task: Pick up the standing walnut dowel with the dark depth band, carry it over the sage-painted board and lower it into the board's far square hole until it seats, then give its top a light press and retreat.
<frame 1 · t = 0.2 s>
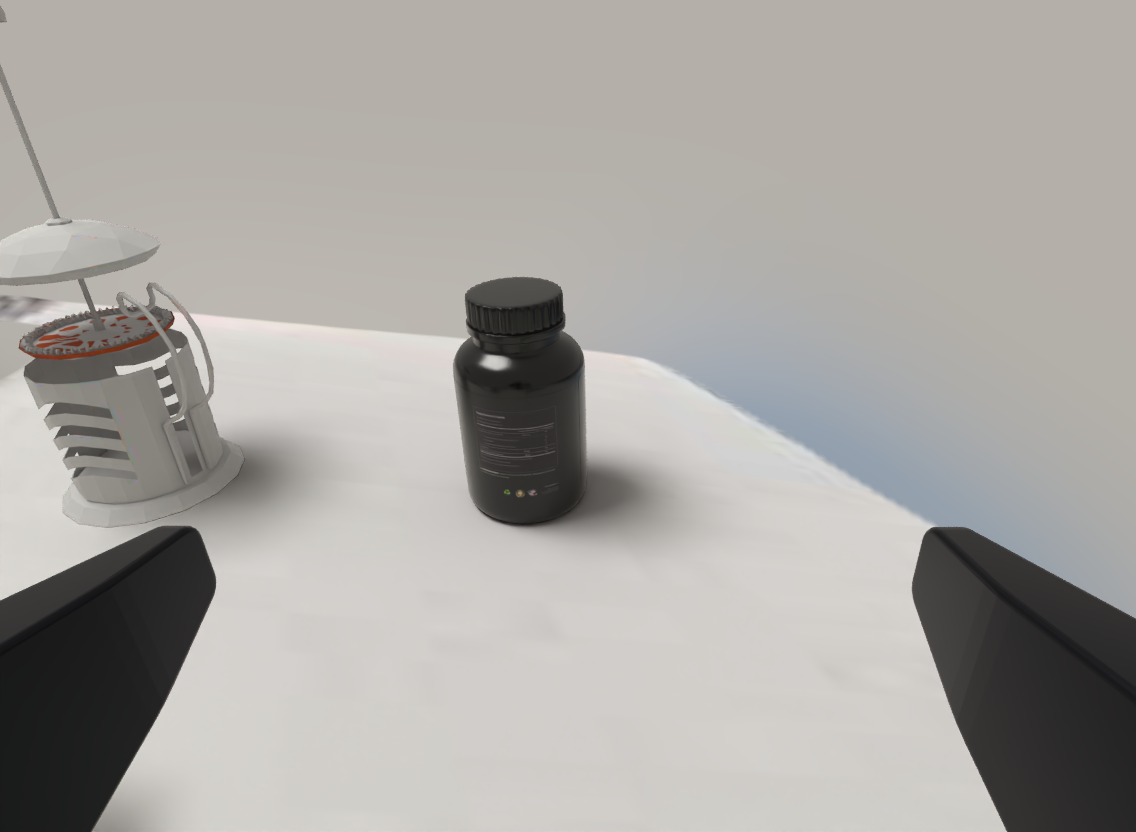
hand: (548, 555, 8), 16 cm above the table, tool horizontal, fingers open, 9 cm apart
french press: (168, 482, 40), on the table
supplement bottle: (527, 494, 38), on the table
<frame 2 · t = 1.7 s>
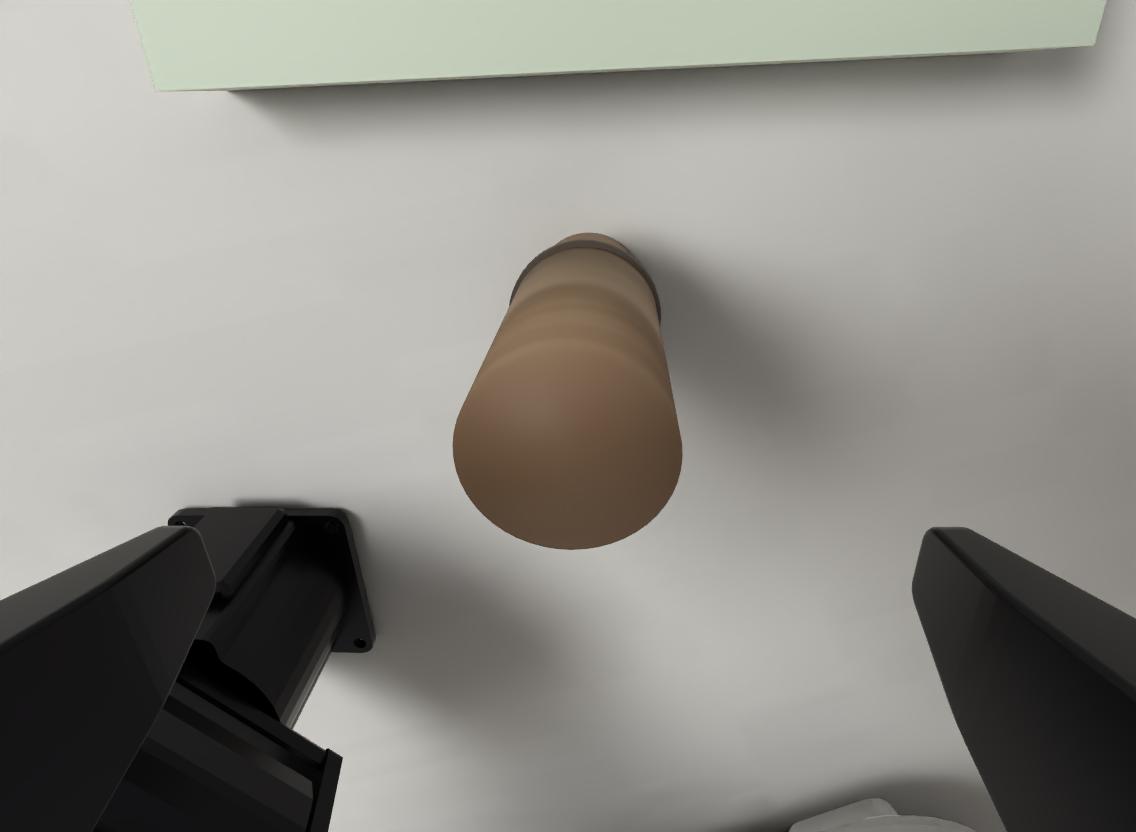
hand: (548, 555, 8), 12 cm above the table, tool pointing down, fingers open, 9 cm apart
peg: (588, 285, 19), on the table
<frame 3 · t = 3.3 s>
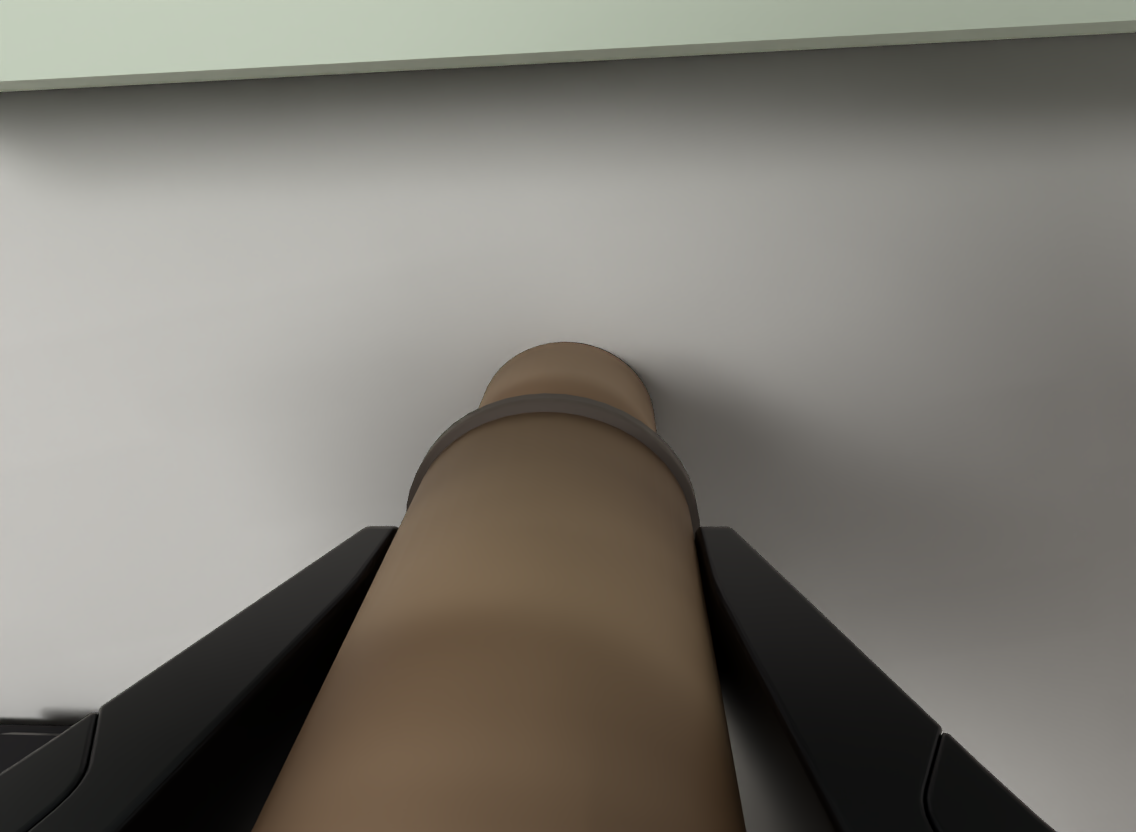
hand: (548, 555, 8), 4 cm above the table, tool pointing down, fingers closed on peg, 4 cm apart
peg: (566, 424, 11), on the table, touching gripper
when the fingers open (4 cm above the table, at t = 6.8 s): peg drops 1 cm, resting in board.
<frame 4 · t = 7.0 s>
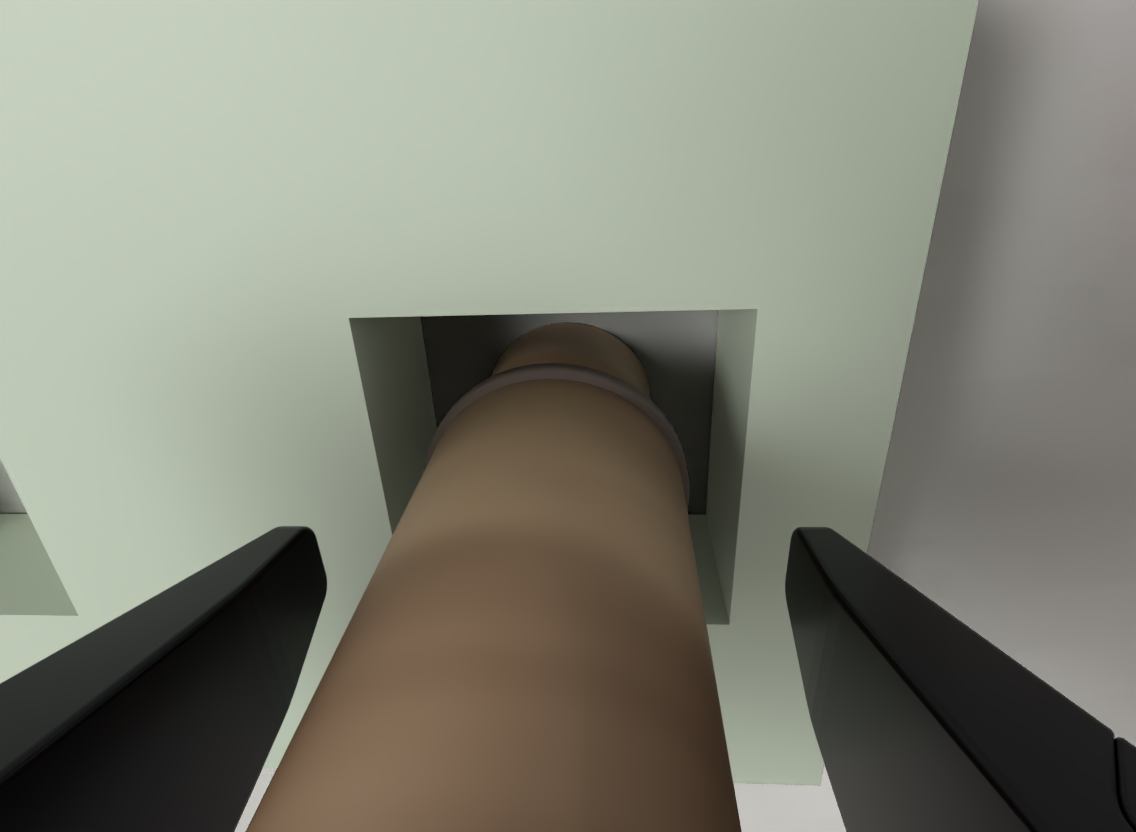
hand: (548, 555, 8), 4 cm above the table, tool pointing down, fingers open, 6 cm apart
peg: (569, 400, 12), resting in board
board: (283, 401, 13), on the table
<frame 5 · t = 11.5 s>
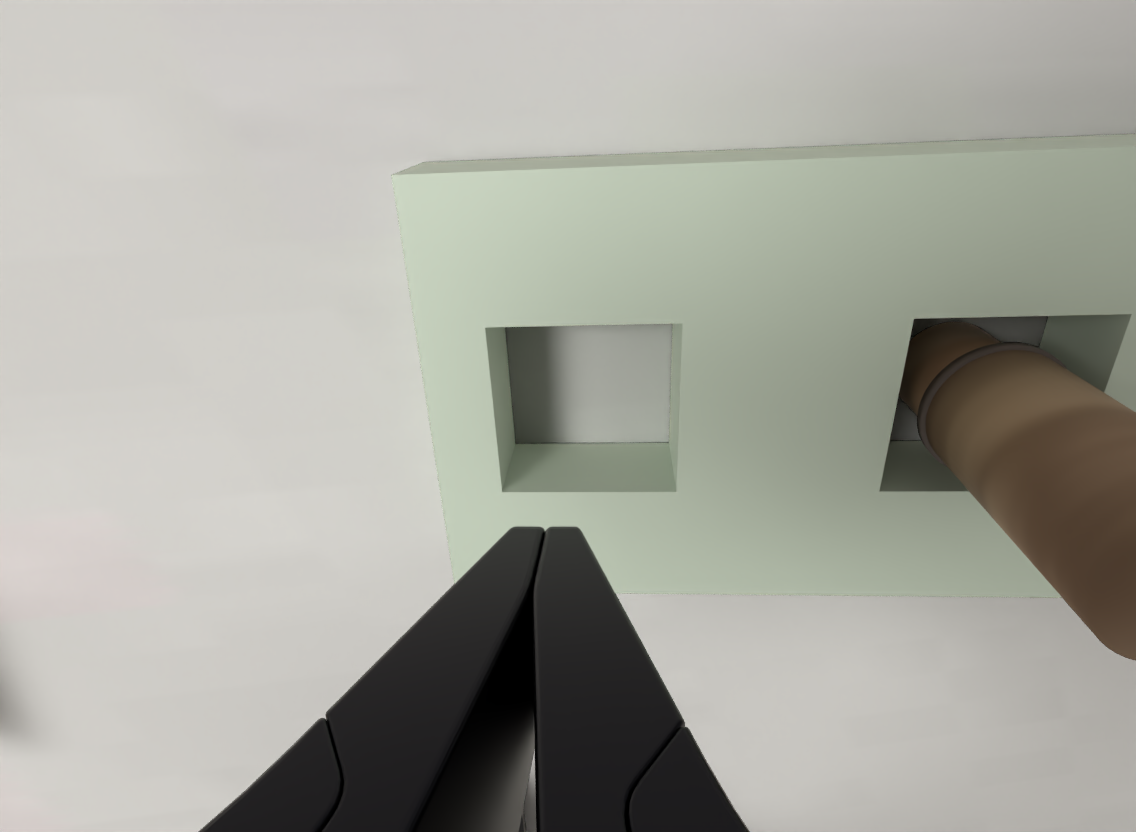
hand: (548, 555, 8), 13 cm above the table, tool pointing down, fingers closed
peg: (943, 368, 20), resting in board
board: (763, 369, 21), on the table
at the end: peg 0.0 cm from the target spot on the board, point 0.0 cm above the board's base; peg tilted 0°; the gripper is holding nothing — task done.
